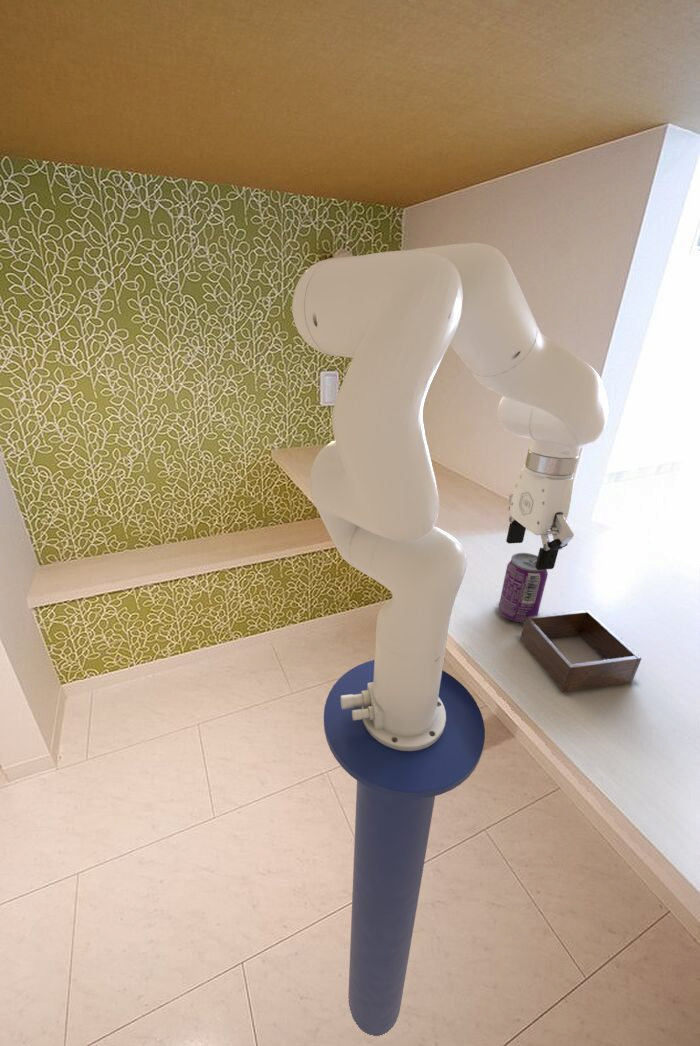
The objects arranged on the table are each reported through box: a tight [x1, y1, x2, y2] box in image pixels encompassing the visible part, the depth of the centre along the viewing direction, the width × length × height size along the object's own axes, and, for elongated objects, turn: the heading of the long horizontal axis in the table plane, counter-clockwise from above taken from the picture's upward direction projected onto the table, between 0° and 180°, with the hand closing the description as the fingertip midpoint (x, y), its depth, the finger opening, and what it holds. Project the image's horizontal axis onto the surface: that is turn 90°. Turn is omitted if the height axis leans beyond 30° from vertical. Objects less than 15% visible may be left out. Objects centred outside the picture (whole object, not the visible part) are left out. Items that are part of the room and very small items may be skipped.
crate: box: [519, 609, 642, 693], centre depth 72 cm, size 12×12×5 cm
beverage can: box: [498, 552, 549, 624], centre depth 82 cm, size 7×7×12 cm
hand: (528, 554), depth 78 cm, fingers open, 9 cm apart
